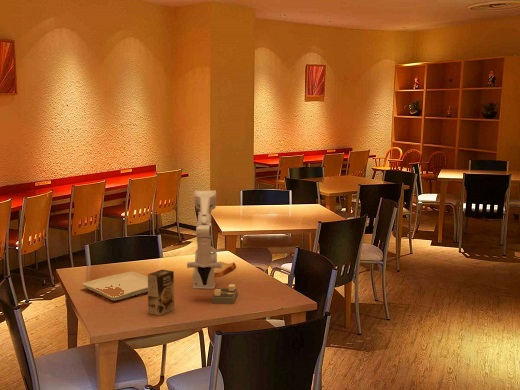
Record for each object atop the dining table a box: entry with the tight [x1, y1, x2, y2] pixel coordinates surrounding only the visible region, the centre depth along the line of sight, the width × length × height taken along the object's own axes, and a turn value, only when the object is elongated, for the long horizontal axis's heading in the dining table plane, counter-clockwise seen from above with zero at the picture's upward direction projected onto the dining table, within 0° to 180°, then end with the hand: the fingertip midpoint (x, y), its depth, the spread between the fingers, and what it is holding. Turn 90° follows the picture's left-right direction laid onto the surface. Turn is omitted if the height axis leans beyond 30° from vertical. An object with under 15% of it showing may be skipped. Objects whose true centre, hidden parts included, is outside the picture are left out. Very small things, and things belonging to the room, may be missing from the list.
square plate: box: [81, 271, 148, 301], centre depth 266 cm, size 27×27×4 cm
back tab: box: [228, 283, 236, 291], centre depth 257 cm, size 2×3×2 cm
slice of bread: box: [214, 261, 237, 278], centre depth 296 cm, size 18×18×4 cm
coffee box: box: [147, 269, 175, 317], centre depth 238 cm, size 9×6×16 cm
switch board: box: [211, 287, 238, 305], centre depth 254 cm, size 9×13×3 cm
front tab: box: [213, 288, 221, 296], centre depth 251 cm, size 2×3×2 cm
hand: (204, 284), depth 250 cm, fingers closed
